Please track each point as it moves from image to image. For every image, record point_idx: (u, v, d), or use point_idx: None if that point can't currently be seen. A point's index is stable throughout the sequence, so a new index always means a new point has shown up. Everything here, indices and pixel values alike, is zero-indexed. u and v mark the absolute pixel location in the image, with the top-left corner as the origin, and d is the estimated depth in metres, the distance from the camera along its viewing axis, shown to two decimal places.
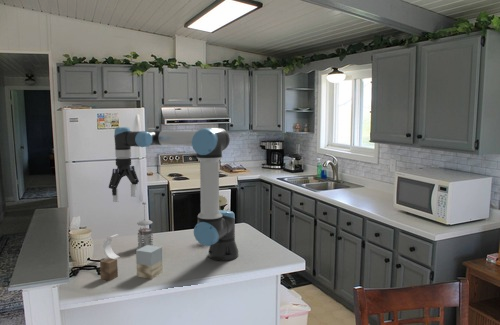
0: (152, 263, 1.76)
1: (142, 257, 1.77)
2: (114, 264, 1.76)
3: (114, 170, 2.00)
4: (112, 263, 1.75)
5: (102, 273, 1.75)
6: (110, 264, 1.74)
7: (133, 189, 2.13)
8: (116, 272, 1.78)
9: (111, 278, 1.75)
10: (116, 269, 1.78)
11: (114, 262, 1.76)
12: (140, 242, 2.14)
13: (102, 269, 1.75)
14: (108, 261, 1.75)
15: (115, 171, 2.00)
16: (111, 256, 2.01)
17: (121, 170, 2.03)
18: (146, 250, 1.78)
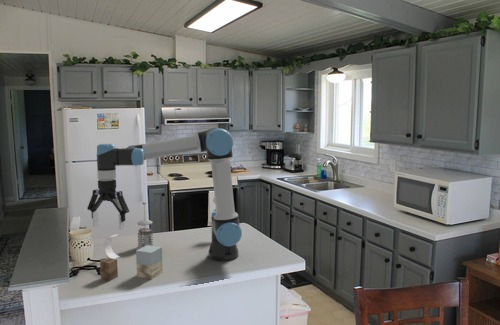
0: (152, 263, 1.76)
1: (142, 257, 1.77)
2: (114, 264, 1.76)
3: None
4: (112, 263, 1.75)
5: (102, 273, 1.75)
6: (110, 264, 1.74)
7: None
8: (116, 272, 1.78)
9: (111, 278, 1.75)
10: (116, 269, 1.78)
11: (114, 262, 1.76)
12: (140, 242, 2.14)
13: (102, 269, 1.75)
14: (108, 261, 1.75)
15: None
16: (111, 256, 2.01)
17: (100, 193, 1.77)
18: (146, 250, 1.78)
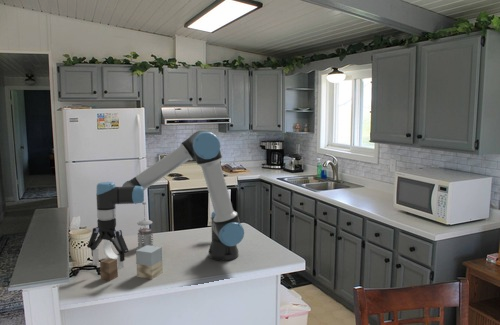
0: (152, 263, 1.76)
1: (142, 257, 1.77)
2: (114, 264, 1.76)
3: None
4: (112, 263, 1.75)
5: (102, 273, 1.75)
6: (110, 264, 1.74)
7: None
8: (116, 272, 1.78)
9: (111, 278, 1.75)
10: (116, 269, 1.78)
11: (114, 262, 1.76)
12: (140, 242, 2.14)
13: (102, 269, 1.75)
14: (108, 261, 1.75)
15: None
16: (111, 256, 2.01)
17: (99, 231, 1.75)
18: (146, 250, 1.78)
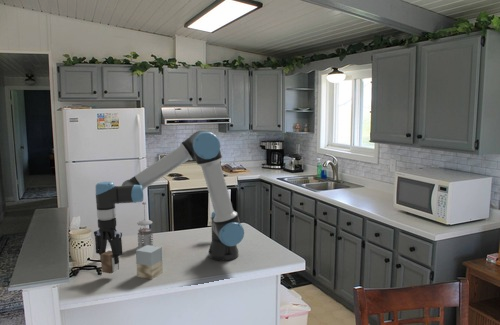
0: (152, 263, 1.76)
1: (142, 257, 1.77)
2: None
3: None
4: None
5: (103, 266, 1.75)
6: (111, 256, 1.74)
7: None
8: None
9: (112, 270, 1.75)
10: None
11: None
12: (140, 242, 2.14)
13: (103, 262, 1.75)
14: (109, 253, 1.75)
15: None
16: None
17: (100, 231, 1.75)
18: (146, 250, 1.78)
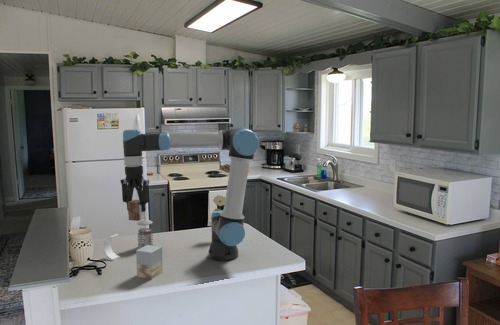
0: (152, 263, 1.76)
1: (142, 257, 1.77)
2: None
3: None
4: None
5: (130, 213, 1.75)
6: (138, 204, 1.74)
7: None
8: None
9: (139, 218, 1.75)
10: None
11: None
12: (140, 242, 2.14)
13: (130, 209, 1.75)
14: (136, 201, 1.75)
15: None
16: (111, 256, 2.01)
17: (127, 179, 1.75)
18: (146, 250, 1.78)
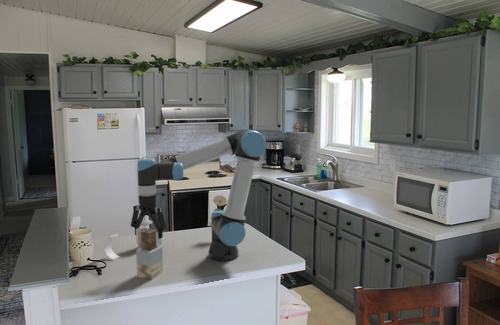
0: (152, 263, 1.76)
1: (142, 257, 1.77)
2: (154, 234, 1.79)
3: None
4: (153, 233, 1.78)
5: (143, 243, 1.78)
6: (151, 234, 1.77)
7: None
8: None
9: (152, 248, 1.78)
10: None
11: (154, 232, 1.79)
12: (140, 242, 2.14)
13: (143, 239, 1.78)
14: (149, 231, 1.78)
15: None
16: (111, 256, 2.01)
17: (140, 207, 1.78)
18: (146, 250, 1.78)
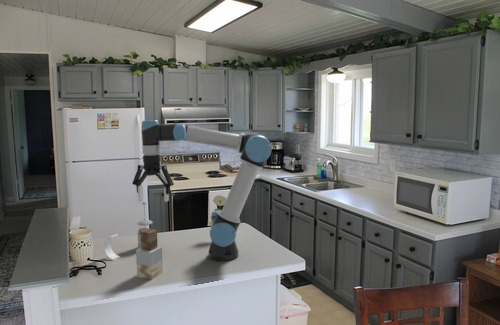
0: (152, 263, 1.76)
1: (142, 257, 1.77)
2: (154, 234, 1.79)
3: None
4: (152, 233, 1.78)
5: (142, 243, 1.78)
6: (151, 234, 1.77)
7: None
8: (156, 243, 1.80)
9: (151, 248, 1.78)
10: (156, 240, 1.80)
11: (154, 232, 1.79)
12: (140, 242, 2.14)
13: (142, 239, 1.78)
14: (148, 231, 1.78)
15: None
16: (111, 256, 2.01)
17: (145, 167, 1.85)
18: (146, 250, 1.78)
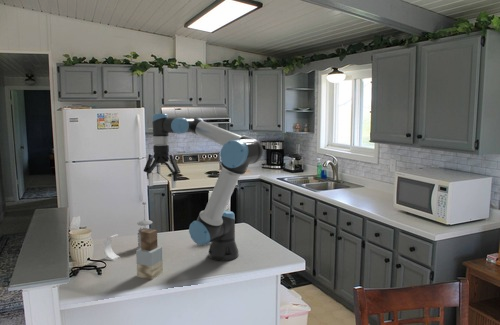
0: (152, 263, 1.76)
1: (142, 257, 1.77)
2: (154, 234, 1.79)
3: None
4: (152, 233, 1.78)
5: (143, 243, 1.78)
6: (151, 234, 1.77)
7: None
8: (156, 243, 1.80)
9: (151, 248, 1.78)
10: (156, 240, 1.80)
11: (154, 232, 1.79)
12: (140, 242, 2.14)
13: (142, 239, 1.78)
14: (148, 231, 1.78)
15: None
16: (111, 256, 2.01)
17: (155, 156, 2.03)
18: (146, 250, 1.78)
